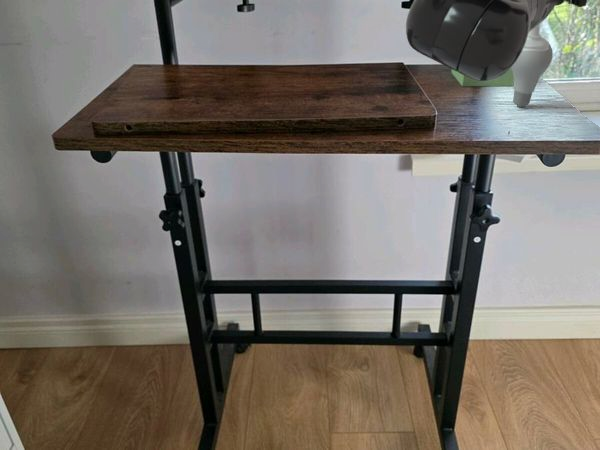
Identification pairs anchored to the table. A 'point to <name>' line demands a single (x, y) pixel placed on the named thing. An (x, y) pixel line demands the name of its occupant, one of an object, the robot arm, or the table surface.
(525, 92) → the lightbulb
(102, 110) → the table surface
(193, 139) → the table surface
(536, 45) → the chess piece
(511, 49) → the robot arm
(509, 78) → the green block
